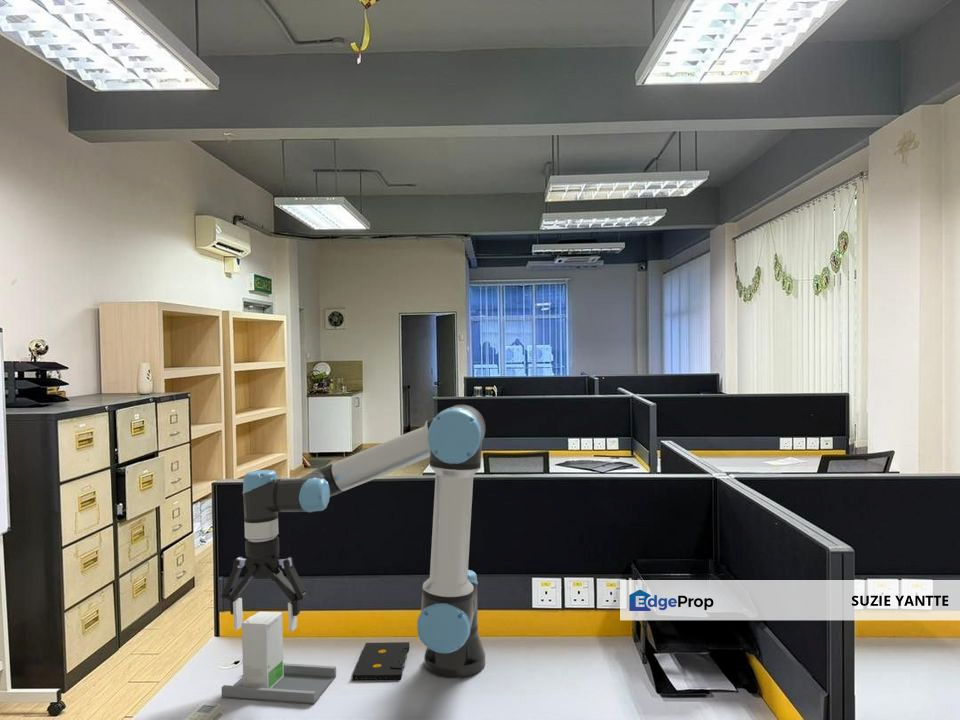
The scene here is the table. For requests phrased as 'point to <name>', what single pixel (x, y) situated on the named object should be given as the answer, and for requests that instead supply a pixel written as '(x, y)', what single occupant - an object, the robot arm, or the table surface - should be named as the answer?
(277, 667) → the skincare box
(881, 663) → the table surface
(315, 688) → the rubber tray
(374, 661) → the cassette tape
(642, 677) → the table surface
